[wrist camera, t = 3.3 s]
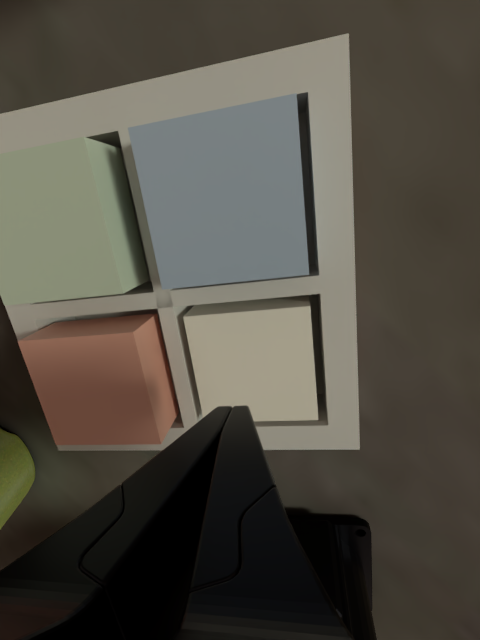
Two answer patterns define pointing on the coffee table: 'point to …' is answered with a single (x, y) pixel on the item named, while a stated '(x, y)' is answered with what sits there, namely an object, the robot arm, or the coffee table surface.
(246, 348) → the key cream
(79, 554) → the robot arm
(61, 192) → the key sage
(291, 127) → the key slate
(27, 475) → the plant pot
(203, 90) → the keypad
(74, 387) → the key coral
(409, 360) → the coffee table surface
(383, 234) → the coffee table surface
